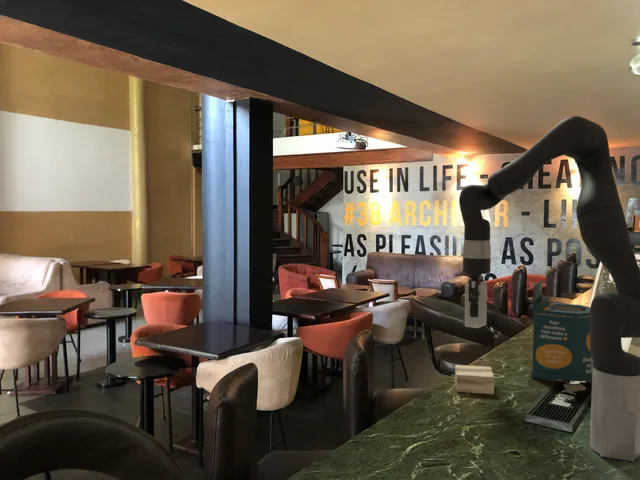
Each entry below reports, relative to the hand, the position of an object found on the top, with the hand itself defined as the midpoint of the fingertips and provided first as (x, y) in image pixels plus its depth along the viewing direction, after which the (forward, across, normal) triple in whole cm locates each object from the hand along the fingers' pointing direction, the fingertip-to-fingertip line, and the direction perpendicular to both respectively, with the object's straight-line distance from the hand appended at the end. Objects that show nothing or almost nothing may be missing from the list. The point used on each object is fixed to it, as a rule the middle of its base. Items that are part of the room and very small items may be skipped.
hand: (475, 314), depth 150 cm
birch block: (+21, 0, 0) cm, 21 cm away
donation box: (+21, +22, -24) cm, 39 cm away
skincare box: (+3, 0, 0) cm, 3 cm away
